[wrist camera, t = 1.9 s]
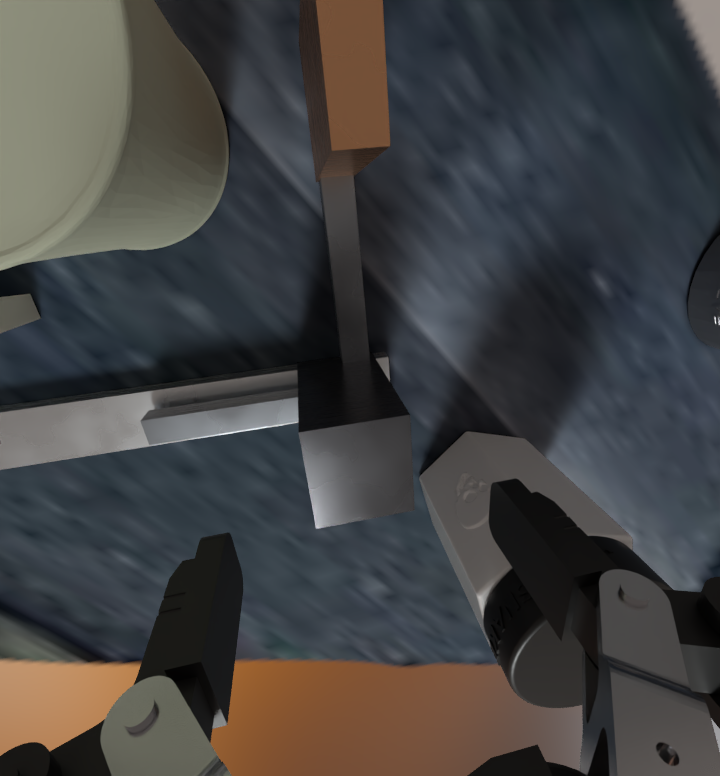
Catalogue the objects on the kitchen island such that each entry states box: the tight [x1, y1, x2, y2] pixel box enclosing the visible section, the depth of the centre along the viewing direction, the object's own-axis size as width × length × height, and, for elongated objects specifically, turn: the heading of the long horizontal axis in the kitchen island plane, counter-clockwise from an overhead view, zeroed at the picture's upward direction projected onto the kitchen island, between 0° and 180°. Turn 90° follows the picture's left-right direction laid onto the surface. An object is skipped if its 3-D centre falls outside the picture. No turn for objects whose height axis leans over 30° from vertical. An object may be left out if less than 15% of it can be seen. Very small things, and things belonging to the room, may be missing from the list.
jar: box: [419, 431, 673, 708], centre depth 22 cm, size 9×8×12 cm
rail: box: [0, 352, 390, 470], centre depth 21 cm, size 26×3×1 cm, turn 95°
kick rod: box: [140, 0, 414, 529], centre depth 15 cm, size 12×18×8 cm
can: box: [0, 0, 229, 271], centre depth 11 cm, size 9×9×12 cm
